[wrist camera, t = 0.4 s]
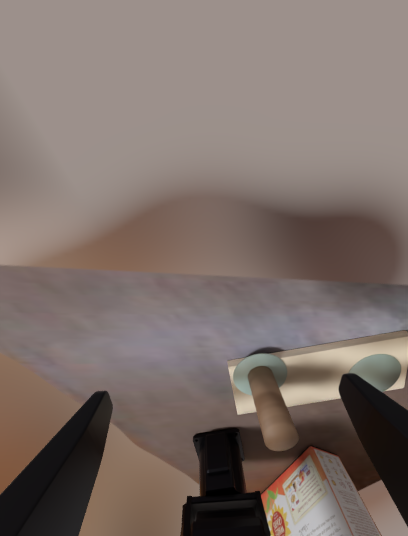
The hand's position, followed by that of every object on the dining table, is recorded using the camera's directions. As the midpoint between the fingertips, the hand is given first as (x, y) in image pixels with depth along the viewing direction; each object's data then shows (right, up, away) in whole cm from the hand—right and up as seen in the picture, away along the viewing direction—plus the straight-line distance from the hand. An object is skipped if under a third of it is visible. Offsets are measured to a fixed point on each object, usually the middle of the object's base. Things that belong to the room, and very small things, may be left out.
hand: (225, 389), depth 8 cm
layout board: (+13, -8, +19) cm, 24 cm away
